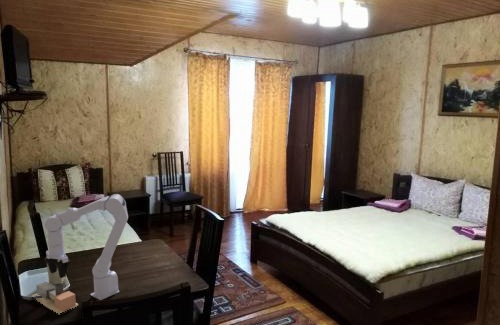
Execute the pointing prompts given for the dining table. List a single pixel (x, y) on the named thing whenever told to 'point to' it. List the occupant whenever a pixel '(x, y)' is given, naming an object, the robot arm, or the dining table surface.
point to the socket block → (64, 300)
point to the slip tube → (55, 291)
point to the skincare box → (54, 276)
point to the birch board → (51, 304)
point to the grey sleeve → (44, 289)
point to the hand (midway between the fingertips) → (58, 274)
